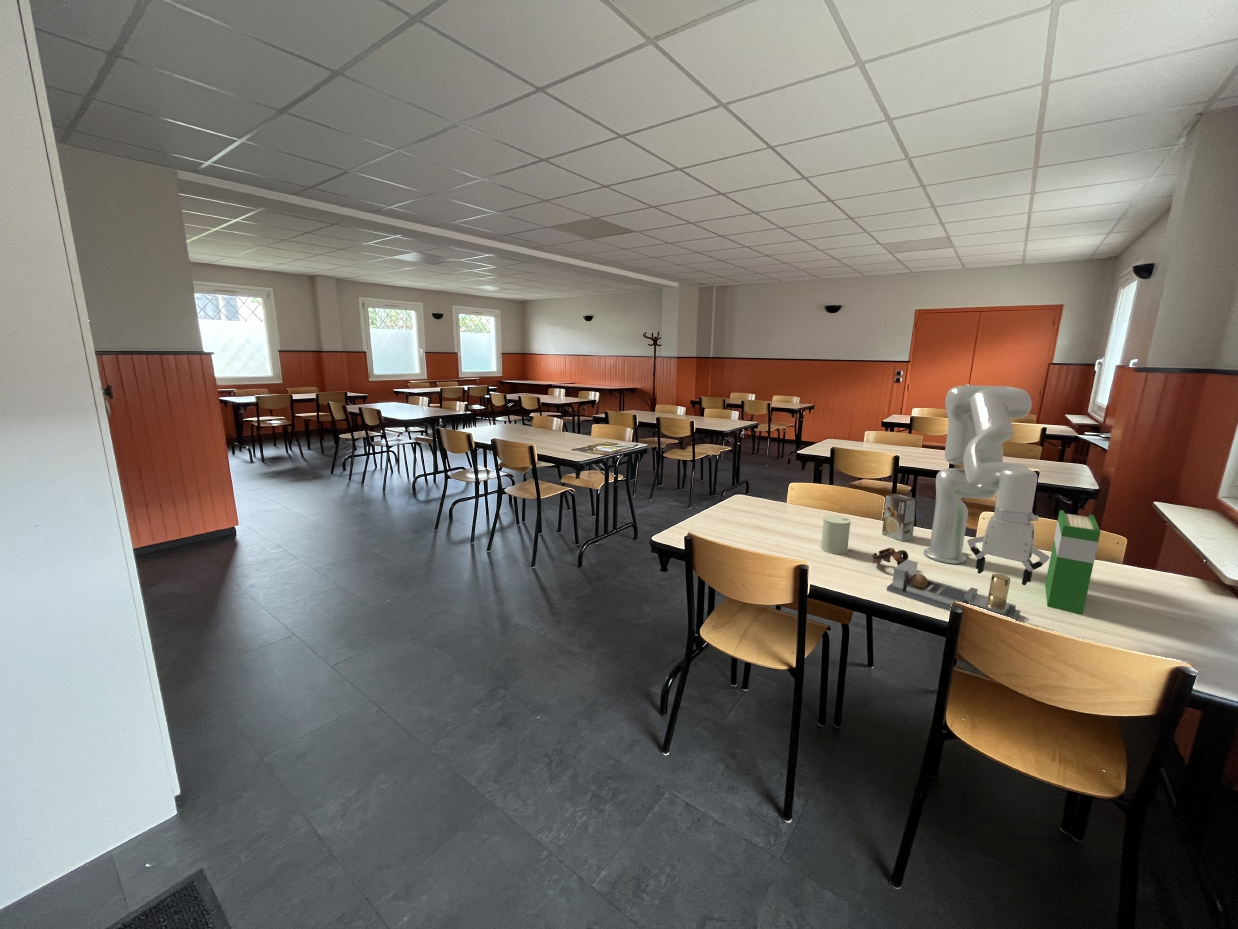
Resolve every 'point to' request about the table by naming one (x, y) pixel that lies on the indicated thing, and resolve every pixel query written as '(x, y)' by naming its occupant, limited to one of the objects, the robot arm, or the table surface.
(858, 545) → the table surface
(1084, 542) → the hardback book
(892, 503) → the coffee box
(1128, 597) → the table surface
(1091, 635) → the table surface
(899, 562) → the rusty shackles
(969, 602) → the jaw carriage
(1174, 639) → the table surface
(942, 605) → the base
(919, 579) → the walnut
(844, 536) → the can
